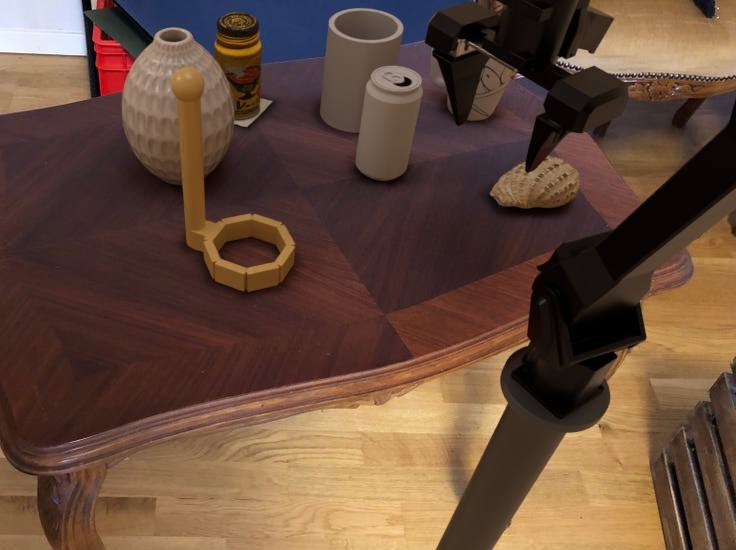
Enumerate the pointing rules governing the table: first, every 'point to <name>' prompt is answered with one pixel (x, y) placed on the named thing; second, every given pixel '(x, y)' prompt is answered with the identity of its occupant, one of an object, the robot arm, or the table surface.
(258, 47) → the condiment
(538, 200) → the seashell
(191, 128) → the holder
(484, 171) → the table surface
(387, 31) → the cup
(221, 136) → the vase
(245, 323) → the table surface
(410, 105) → the beverage can
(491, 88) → the mug
